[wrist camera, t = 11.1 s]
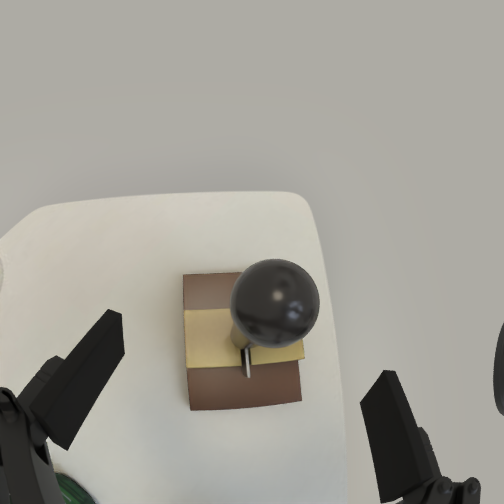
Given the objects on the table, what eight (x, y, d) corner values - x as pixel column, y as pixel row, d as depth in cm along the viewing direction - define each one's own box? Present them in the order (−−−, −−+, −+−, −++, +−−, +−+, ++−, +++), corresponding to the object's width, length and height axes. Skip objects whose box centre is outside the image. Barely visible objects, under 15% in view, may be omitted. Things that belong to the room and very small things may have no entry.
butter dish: (297, 398, 25) (315, 406, 20) (192, 408, 24) (185, 419, 19) (284, 274, 30) (296, 255, 25) (184, 278, 29) (177, 260, 24)
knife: (260, 372, 24) (346, 396, 7) (227, 375, 24) (241, 414, 7) (253, 304, 27) (313, 195, 10) (222, 306, 27) (225, 195, 9)
